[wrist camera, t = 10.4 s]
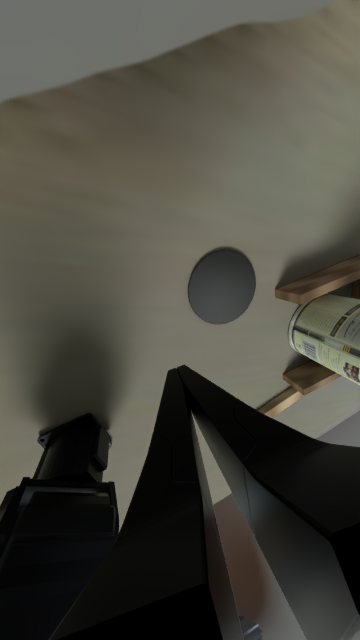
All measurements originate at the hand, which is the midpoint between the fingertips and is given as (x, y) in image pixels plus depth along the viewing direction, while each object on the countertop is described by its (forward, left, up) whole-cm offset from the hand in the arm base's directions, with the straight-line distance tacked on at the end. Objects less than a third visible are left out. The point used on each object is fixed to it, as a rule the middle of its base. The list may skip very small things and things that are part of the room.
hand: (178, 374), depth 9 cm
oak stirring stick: (+12, -25, -14) cm, 31 cm away
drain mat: (+9, -1, -13) cm, 16 cm away
